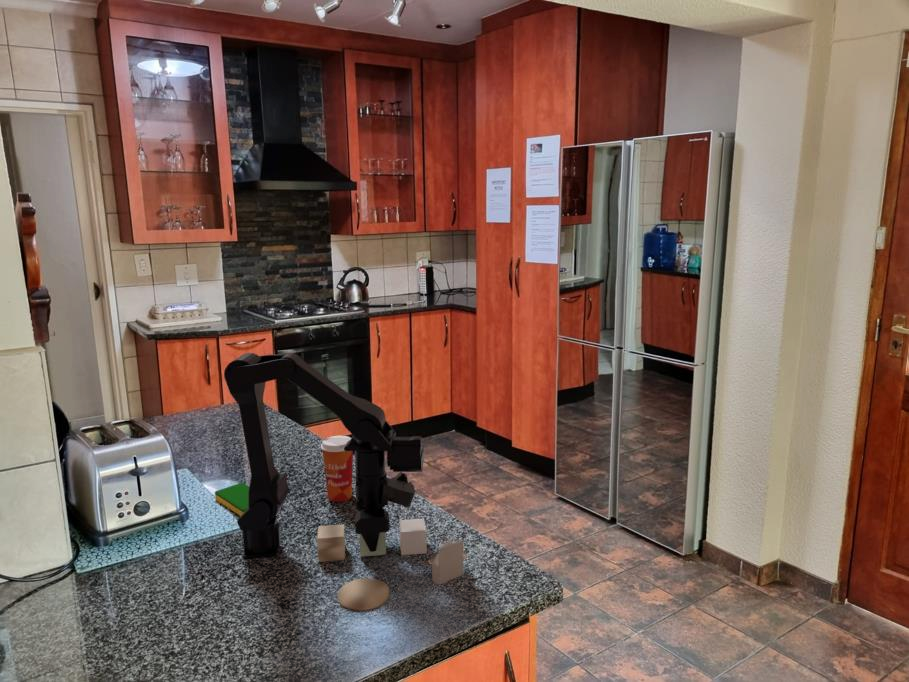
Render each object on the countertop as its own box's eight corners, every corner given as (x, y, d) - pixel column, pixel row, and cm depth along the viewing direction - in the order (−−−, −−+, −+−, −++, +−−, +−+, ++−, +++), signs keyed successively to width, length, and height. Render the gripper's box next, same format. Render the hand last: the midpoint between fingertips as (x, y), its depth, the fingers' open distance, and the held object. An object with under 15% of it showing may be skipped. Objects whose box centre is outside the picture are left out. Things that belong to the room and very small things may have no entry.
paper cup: (316, 500, 152) (313, 443, 149) (334, 487, 159) (332, 433, 156) (345, 506, 149) (343, 448, 147) (362, 492, 156) (360, 437, 154)
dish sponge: (244, 520, 144) (243, 510, 144) (215, 500, 154) (214, 491, 153) (273, 509, 149) (272, 499, 149) (243, 491, 159) (242, 481, 158)
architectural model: (427, 579, 121) (427, 542, 120) (457, 566, 125) (457, 530, 124) (438, 587, 119) (438, 549, 117) (468, 574, 123) (468, 537, 121)
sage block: (360, 556, 127) (359, 533, 126) (360, 543, 132) (359, 520, 131) (386, 554, 128) (385, 531, 127) (384, 541, 133) (384, 519, 132)
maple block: (318, 562, 126) (317, 538, 125) (319, 549, 131) (318, 526, 130) (344, 560, 127) (343, 536, 126) (345, 547, 132) (344, 524, 131)
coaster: (337, 612, 110) (336, 610, 110) (338, 583, 119) (338, 580, 119) (390, 608, 112) (390, 605, 112) (388, 578, 120) (387, 576, 120)
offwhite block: (401, 555, 129) (400, 532, 128) (399, 542, 133) (399, 520, 132) (426, 553, 129) (426, 530, 128) (424, 540, 134) (423, 518, 133)
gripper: (416, 488, 119) (417, 566, 122) (408, 450, 137) (409, 519, 140) (354, 492, 117) (357, 571, 120) (354, 453, 135) (356, 523, 139)
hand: (372, 544), depth 130 cm, fingers closed on sage block, 5 cm apart
